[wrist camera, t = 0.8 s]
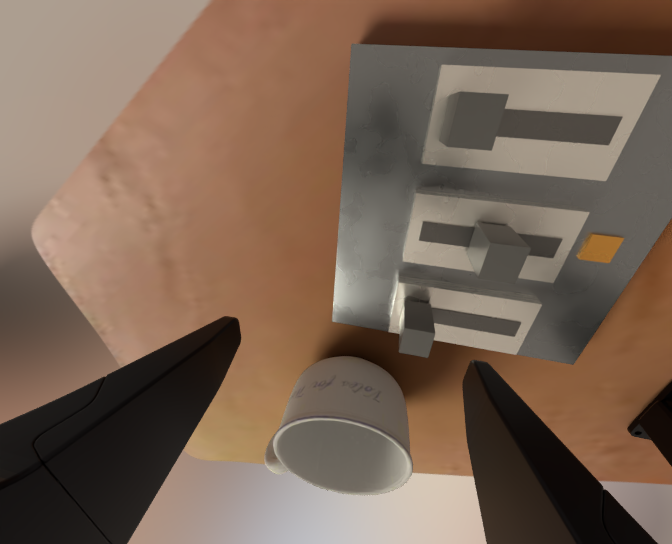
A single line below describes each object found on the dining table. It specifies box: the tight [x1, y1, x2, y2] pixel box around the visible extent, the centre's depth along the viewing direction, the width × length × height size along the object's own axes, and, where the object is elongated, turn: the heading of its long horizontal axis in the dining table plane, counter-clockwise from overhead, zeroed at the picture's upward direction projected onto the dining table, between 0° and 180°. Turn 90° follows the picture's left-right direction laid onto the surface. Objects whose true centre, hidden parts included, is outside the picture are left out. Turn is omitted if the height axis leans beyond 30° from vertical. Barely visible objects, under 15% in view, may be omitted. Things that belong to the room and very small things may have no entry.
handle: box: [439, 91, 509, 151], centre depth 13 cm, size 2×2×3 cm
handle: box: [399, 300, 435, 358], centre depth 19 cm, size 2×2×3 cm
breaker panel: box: [332, 44, 672, 364], centre depth 18 cm, size 18×18×3 cm
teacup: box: [265, 356, 413, 495], centre depth 26 cm, size 14×11×8 cm
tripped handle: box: [467, 222, 531, 284], centre depth 15 cm, size 2×2×3 cm
